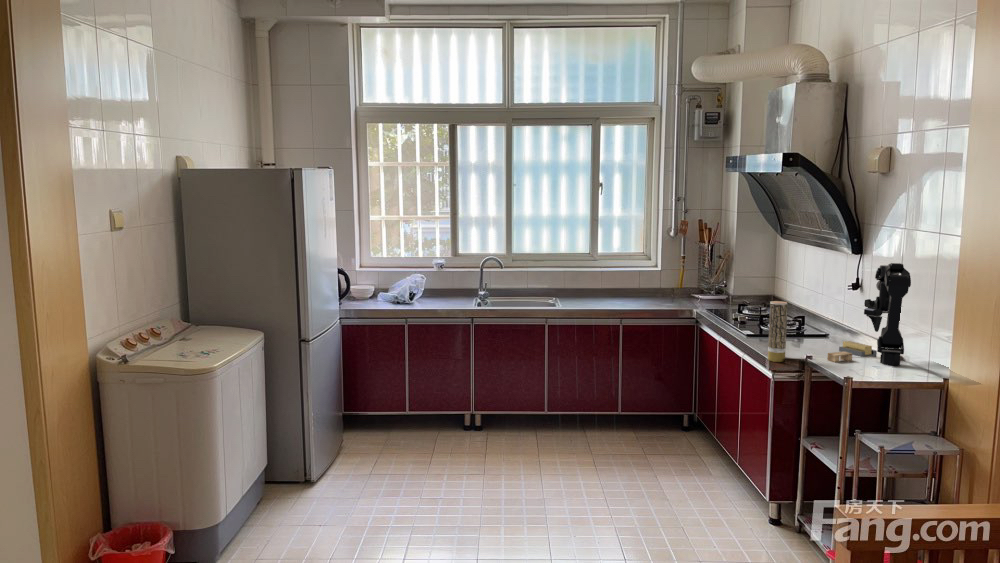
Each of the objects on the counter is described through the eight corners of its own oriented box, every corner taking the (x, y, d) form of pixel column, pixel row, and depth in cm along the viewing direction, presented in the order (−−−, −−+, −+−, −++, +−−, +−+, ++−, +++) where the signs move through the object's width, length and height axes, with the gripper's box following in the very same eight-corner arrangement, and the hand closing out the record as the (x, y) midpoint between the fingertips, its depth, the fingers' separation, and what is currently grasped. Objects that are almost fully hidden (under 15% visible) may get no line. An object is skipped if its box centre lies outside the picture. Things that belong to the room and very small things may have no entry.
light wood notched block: (851, 364, 287) (852, 353, 287) (834, 366, 284) (835, 355, 284) (844, 362, 291) (844, 351, 290) (827, 364, 288) (827, 353, 287)
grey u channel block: (876, 358, 298) (876, 350, 297) (861, 360, 295) (861, 352, 295) (853, 353, 309) (854, 345, 309) (838, 354, 306) (839, 346, 306)
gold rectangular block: (871, 354, 297) (871, 346, 297) (864, 354, 296) (865, 346, 296) (848, 348, 309) (849, 340, 308) (842, 349, 307) (843, 341, 307)
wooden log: (786, 362, 290) (789, 303, 287) (769, 362, 291) (771, 303, 289) (783, 359, 297) (785, 301, 294) (766, 358, 298) (768, 301, 295)
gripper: (887, 291, 306) (885, 326, 307) (854, 293, 299) (852, 329, 301) (909, 294, 295) (907, 330, 297) (876, 296, 289) (874, 333, 291)
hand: (884, 331), depth 297 cm, fingers open, 9 cm apart
